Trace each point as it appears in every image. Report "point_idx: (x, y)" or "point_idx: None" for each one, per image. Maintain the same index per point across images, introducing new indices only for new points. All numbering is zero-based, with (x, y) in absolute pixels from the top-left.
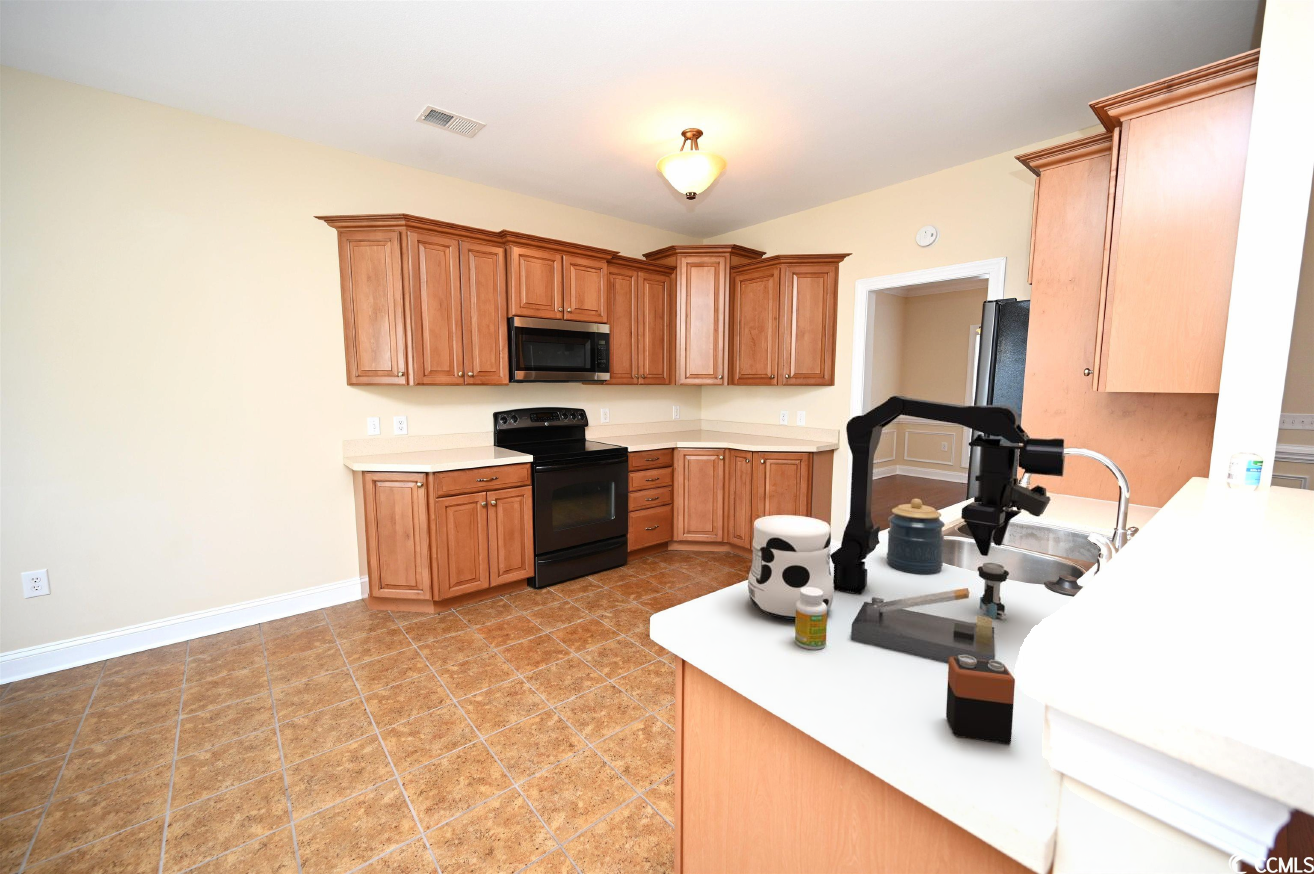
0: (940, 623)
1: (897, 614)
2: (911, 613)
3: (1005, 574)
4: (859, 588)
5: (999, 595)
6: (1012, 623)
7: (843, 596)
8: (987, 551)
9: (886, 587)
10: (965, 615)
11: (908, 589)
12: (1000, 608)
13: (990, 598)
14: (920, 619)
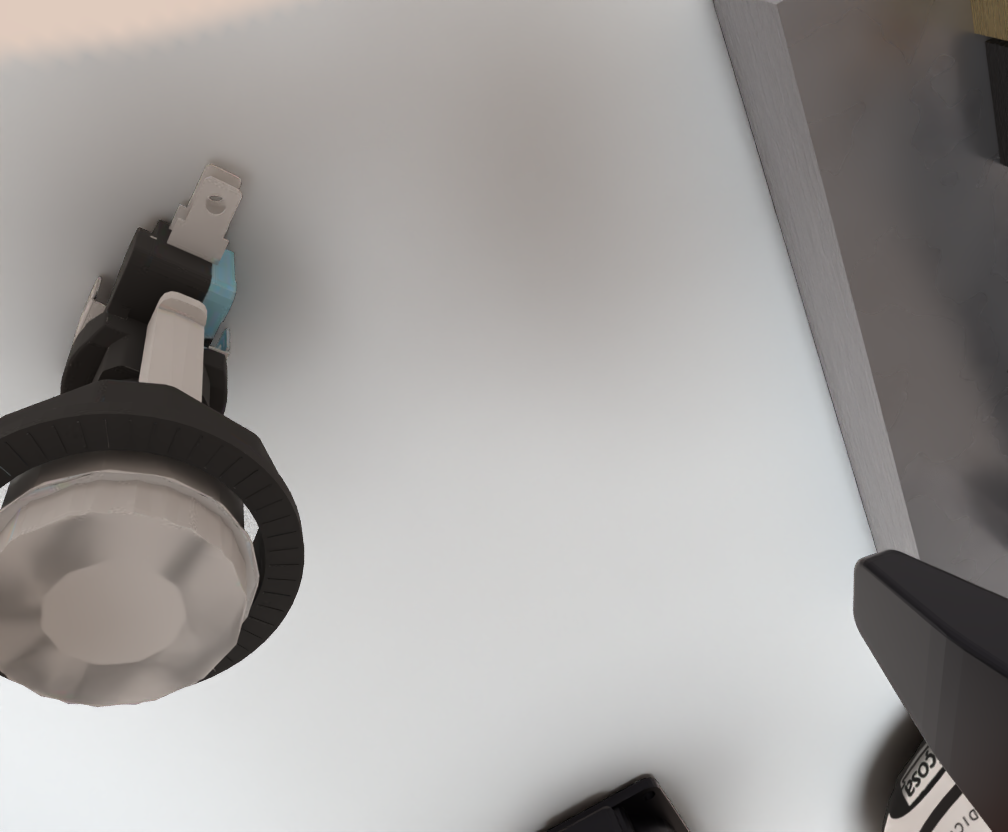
0: (978, 262)
1: (1006, 465)
2: (938, 443)
3: (113, 422)
4: (627, 818)
5: (156, 332)
6: (177, 110)
7: (730, 777)
8: (981, 589)
9: (413, 819)
10: (386, 378)
11: (314, 774)
12: (179, 257)
13: (204, 370)
14: (995, 361)
